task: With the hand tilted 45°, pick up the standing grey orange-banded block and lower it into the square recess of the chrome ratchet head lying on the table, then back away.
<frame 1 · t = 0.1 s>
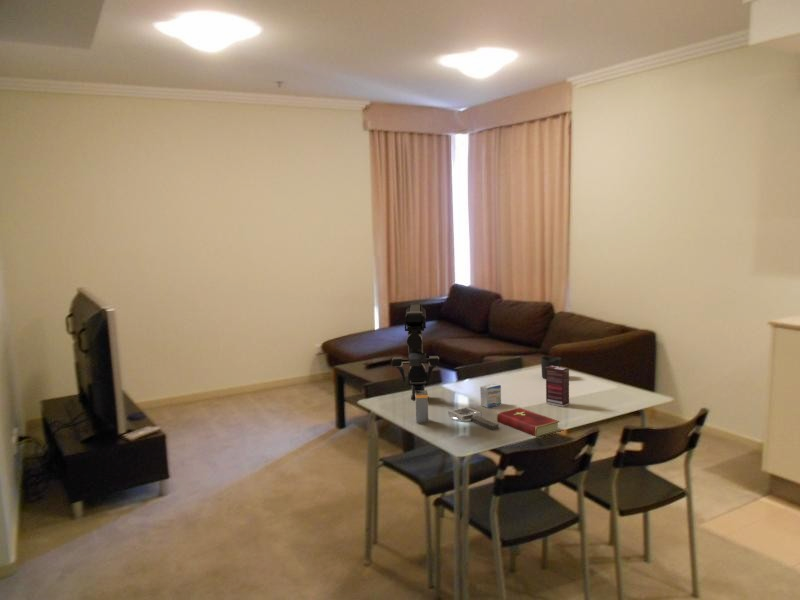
hand: (416, 382, 242), 15 cm above the table, tool pointing down, fingers open, 9 cm apart
medicine box: (490, 405, 257), on the table
hardcover book: (527, 427, 230), on the table
supplement box: (557, 404, 256), on the table
grey orange-banded block: (422, 421, 239), on the table
pen holder: (550, 378, 299), on the table
ratchet: (464, 416, 243), on the table
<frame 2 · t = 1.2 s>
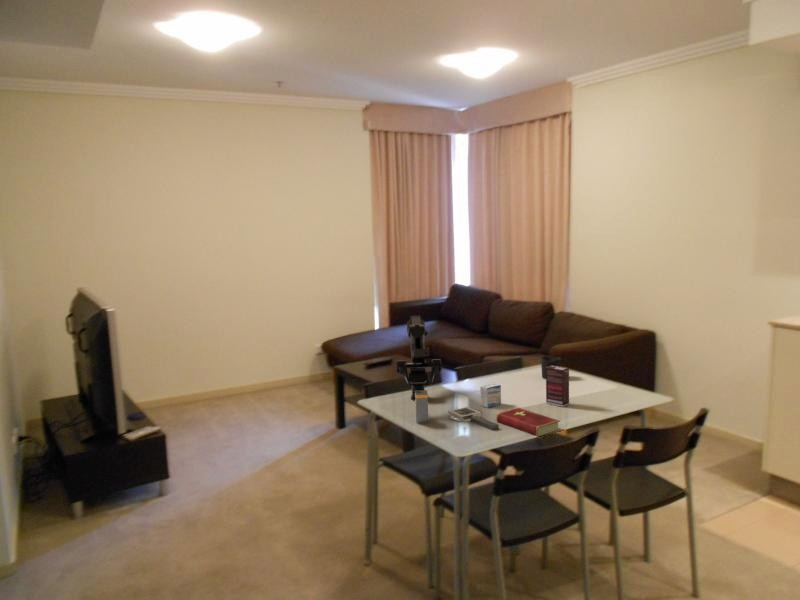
hand: (420, 383, 245), 13 cm above the table, tool tilted 45°, fingers open, 9 cm apart
nothing on the table moved.
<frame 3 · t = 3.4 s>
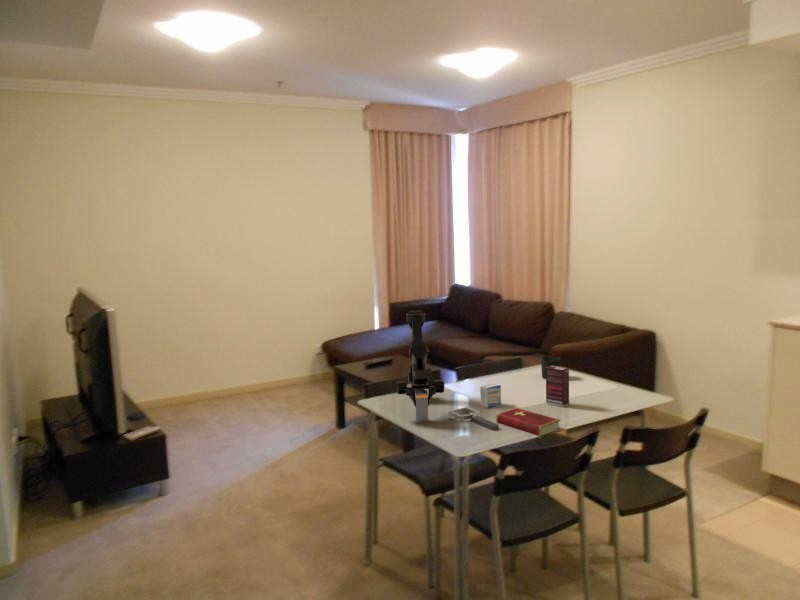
hand: (421, 406, 237), 7 cm above the table, tool tilted 45°, fingers closed on grey orange-banded block, 5 cm apart
grey orange-banded block: (422, 421, 239), on the table, touching gripper
when the fingers open (8 cm above the table, at t = 7.4 s): grey orange-banded block stays where it is, resting on ratchet.
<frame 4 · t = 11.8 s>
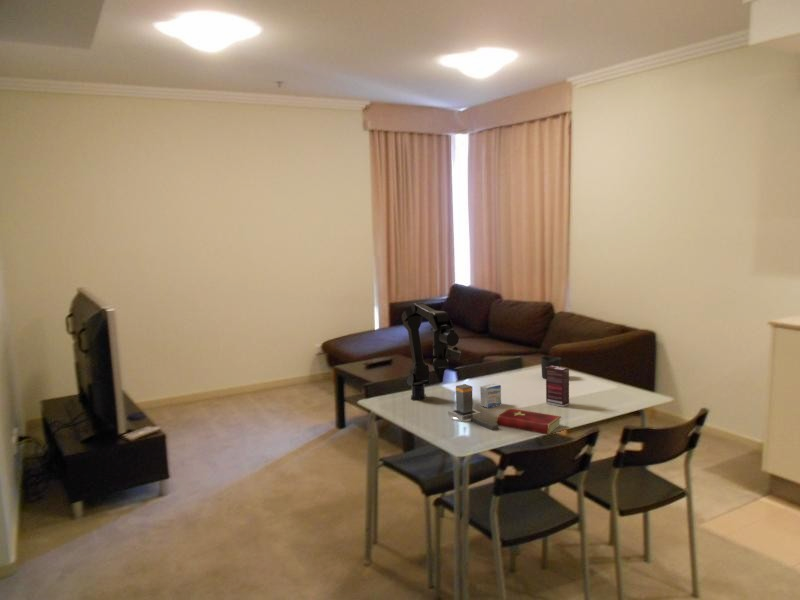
hand: (440, 379, 252), 13 cm above the table, tool pointing down, fingers open, 9 cm apart
grey orange-banded block: (464, 415, 243), point 1 cm above the table, touching ratchet
at the end: grey orange-banded block 0.0 cm off-centre on the ratchet, point 0.6 cm above the ratchet's base; grey orange-banded block tilted 0°; the gripper is holding nothing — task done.
